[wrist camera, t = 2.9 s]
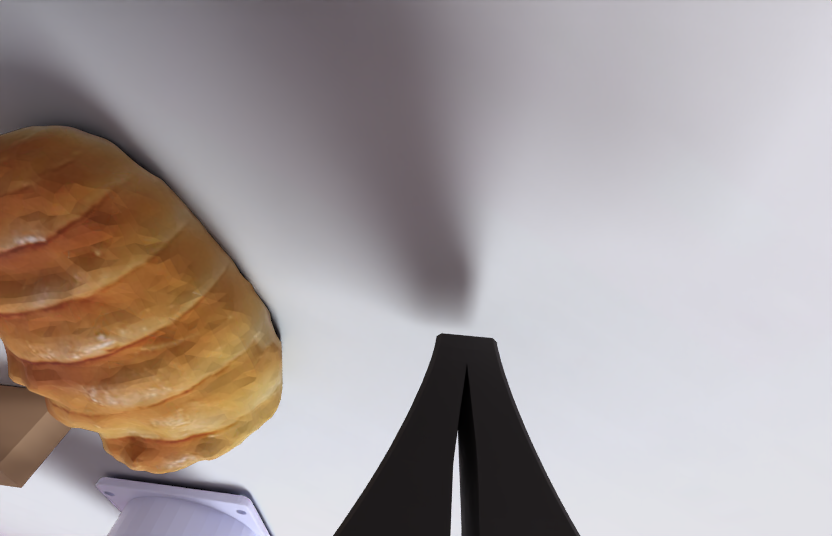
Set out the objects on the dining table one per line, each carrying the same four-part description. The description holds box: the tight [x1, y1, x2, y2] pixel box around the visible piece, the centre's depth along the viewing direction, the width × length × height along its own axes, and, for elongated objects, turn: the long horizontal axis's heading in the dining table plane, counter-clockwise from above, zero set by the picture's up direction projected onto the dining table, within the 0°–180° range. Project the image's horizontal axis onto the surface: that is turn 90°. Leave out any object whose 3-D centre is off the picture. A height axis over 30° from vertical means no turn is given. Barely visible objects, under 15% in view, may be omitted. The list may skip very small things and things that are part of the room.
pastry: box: [0, 126, 282, 474], centre depth 11 cm, size 9×7×4 cm
